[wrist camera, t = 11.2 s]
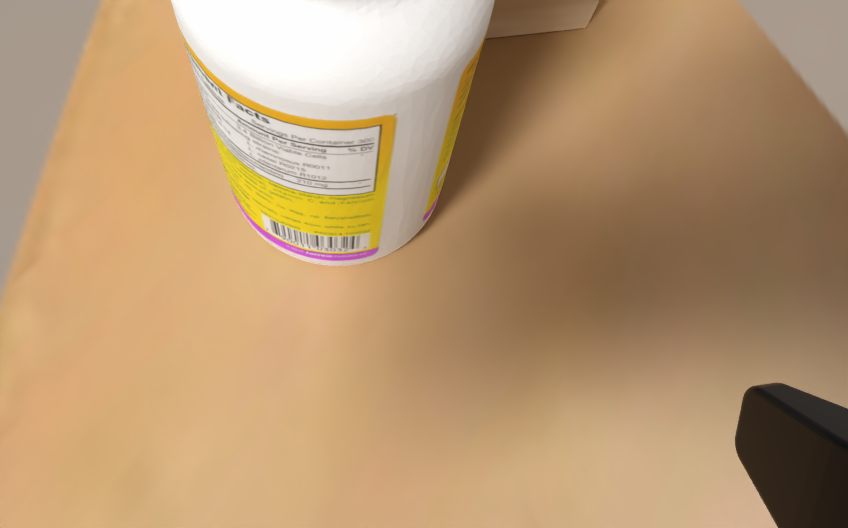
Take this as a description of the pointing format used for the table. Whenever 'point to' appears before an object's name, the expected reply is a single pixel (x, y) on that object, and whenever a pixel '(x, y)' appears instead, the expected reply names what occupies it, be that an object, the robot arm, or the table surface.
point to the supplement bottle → (335, 113)
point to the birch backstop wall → (538, 16)
